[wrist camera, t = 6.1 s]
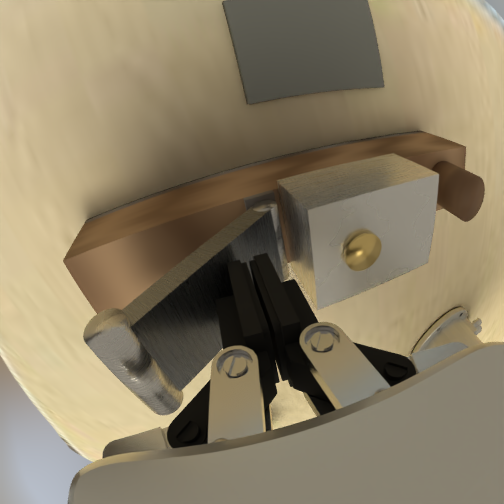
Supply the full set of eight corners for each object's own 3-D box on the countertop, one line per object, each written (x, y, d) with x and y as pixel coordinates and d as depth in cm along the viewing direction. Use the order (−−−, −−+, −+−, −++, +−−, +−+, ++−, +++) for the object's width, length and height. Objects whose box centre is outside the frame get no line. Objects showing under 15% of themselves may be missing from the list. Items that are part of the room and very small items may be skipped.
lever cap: (393, 153, 14) (443, 175, 10) (391, 232, 16) (430, 265, 13) (276, 180, 13) (310, 213, 10) (291, 267, 16) (319, 314, 13)
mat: (364, 0, 12) (367, -1, 12) (381, 87, 16) (384, 87, 16) (222, 2, 11) (223, 0, 11) (247, 104, 15) (248, 104, 15)
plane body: (420, 130, 19) (497, 160, 12) (420, 179, 21) (488, 219, 14) (86, 220, 16) (44, 297, 10) (113, 272, 19) (94, 359, 12)
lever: (285, 196, 12) (94, 355, 7) (297, 277, 15) (164, 422, 9) (256, 192, 13) (77, 330, 8) (272, 269, 16) (141, 400, 10)
